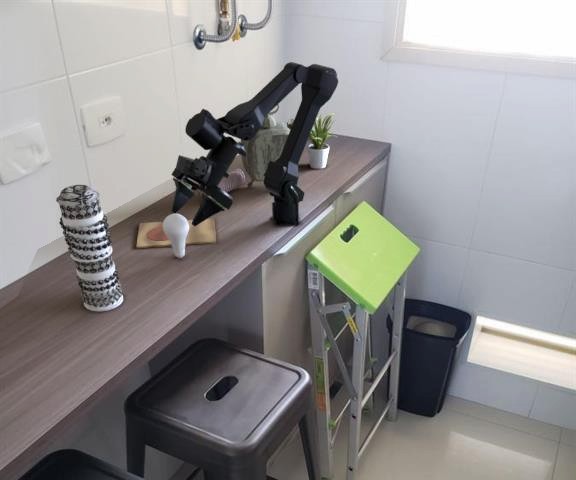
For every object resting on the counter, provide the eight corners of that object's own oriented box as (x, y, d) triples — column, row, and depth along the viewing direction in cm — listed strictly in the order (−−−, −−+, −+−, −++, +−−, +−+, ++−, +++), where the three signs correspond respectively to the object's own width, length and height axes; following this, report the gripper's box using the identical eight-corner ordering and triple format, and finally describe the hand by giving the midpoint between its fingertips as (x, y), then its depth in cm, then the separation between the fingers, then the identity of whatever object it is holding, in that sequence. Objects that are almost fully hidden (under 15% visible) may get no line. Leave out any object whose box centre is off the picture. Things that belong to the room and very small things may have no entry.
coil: (210, 190, 165) (247, 170, 177) (197, 185, 167) (234, 165, 179) (210, 205, 168) (246, 185, 180) (197, 200, 170) (234, 180, 182)
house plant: (313, 154, 200) (313, 102, 190) (348, 162, 194) (350, 109, 183) (288, 166, 191) (288, 113, 181) (324, 175, 185) (325, 120, 174)
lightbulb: (197, 253, 146) (191, 211, 138) (185, 264, 141) (180, 221, 134) (175, 250, 147) (168, 207, 140) (163, 261, 143) (156, 218, 136)
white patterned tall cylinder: (110, 315, 124) (82, 201, 108) (73, 308, 127) (41, 195, 111) (133, 294, 131) (110, 183, 115) (98, 287, 133) (70, 178, 117)
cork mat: (214, 219, 161) (213, 217, 160) (216, 242, 150) (215, 240, 150) (139, 224, 159) (139, 222, 158) (136, 248, 148) (136, 246, 148)
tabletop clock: (288, 180, 182) (287, 93, 166) (297, 191, 175) (297, 101, 159) (242, 186, 179) (237, 97, 163) (250, 197, 172) (246, 106, 156)
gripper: (173, 131, 137) (138, 189, 138) (217, 151, 125) (179, 214, 127) (205, 158, 145) (172, 212, 147) (249, 179, 134) (213, 238, 136)
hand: (182, 218), depth 139 cm, fingers open, 9 cm apart
